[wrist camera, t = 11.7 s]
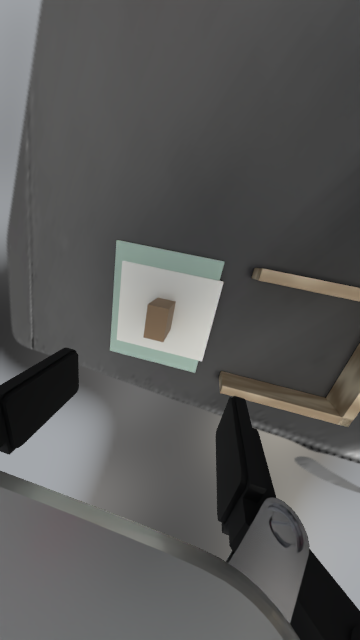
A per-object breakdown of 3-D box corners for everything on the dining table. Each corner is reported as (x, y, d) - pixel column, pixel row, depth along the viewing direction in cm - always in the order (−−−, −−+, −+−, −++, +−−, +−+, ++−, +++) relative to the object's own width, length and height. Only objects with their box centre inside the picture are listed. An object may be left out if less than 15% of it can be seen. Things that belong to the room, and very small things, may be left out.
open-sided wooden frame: (254, 267, 25) (262, 268, 21) (401, 297, 23) (437, 303, 20) (218, 377, 32) (220, 392, 28) (330, 406, 30) (348, 427, 26)
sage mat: (117, 240, 27) (116, 239, 27) (224, 261, 26) (224, 261, 25) (111, 349, 34) (110, 350, 33) (195, 371, 32) (195, 372, 32)
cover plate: (124, 260, 27) (103, 260, 22) (223, 281, 26) (227, 286, 21) (118, 338, 32) (100, 353, 27) (202, 359, 31) (200, 379, 25)
